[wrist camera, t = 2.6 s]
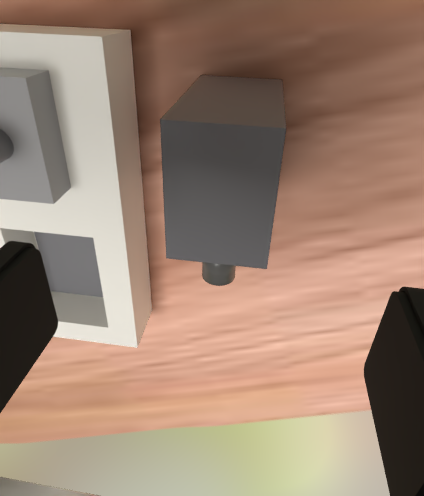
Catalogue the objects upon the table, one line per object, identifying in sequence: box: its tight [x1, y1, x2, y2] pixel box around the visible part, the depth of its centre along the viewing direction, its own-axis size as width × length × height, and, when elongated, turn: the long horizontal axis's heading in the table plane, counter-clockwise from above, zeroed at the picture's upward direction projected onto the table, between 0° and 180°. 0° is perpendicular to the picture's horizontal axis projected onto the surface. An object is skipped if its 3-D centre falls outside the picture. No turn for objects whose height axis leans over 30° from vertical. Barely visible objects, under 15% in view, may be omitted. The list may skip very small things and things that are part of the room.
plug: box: [160, 75, 286, 286], centre depth 19 cm, size 8×4×9 cm, turn 178°
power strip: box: [0, 24, 152, 348], centre depth 22 cm, size 20×10×9 cm, turn 178°
